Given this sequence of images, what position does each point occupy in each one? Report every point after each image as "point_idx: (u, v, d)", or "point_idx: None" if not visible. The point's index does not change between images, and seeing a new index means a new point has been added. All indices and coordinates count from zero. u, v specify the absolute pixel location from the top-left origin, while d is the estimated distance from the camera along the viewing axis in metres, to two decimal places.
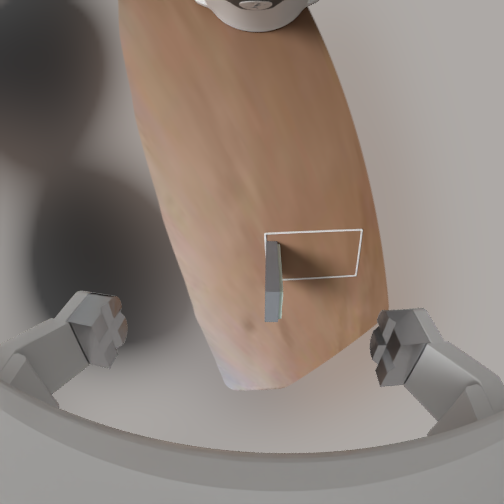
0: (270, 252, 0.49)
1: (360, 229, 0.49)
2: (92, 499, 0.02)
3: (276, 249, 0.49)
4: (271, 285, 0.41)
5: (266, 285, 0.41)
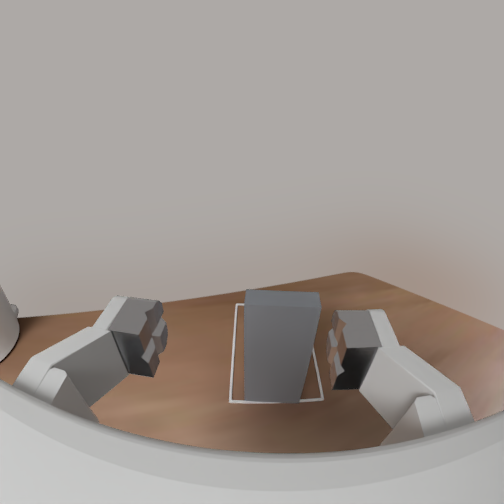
0: None
1: (236, 305, 0.44)
2: (92, 499, 0.02)
3: None
4: None
5: (244, 316, 0.23)
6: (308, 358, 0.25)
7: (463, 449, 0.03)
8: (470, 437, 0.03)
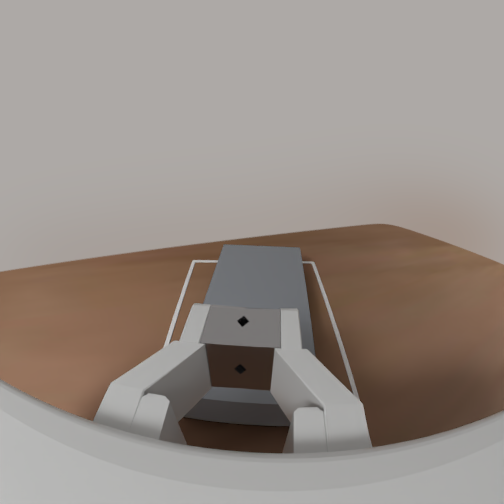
0: None
1: (192, 262, 0.24)
2: (92, 499, 0.02)
3: None
4: None
5: (221, 254, 0.22)
6: (304, 292, 0.17)
7: (463, 449, 0.03)
8: (470, 437, 0.03)
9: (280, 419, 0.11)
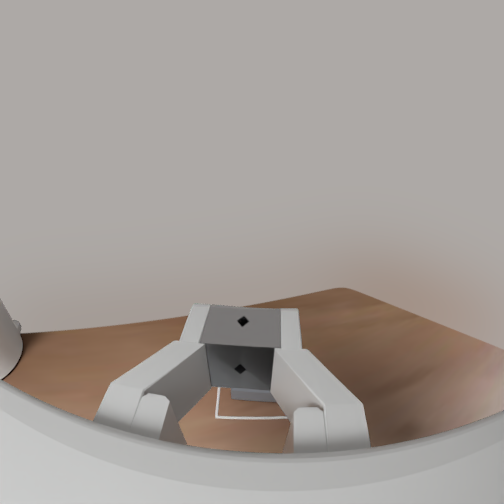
0: None
1: None
2: (92, 499, 0.02)
3: None
4: None
5: None
6: None
7: (463, 449, 0.03)
8: (470, 437, 0.03)
9: (267, 398, 0.32)
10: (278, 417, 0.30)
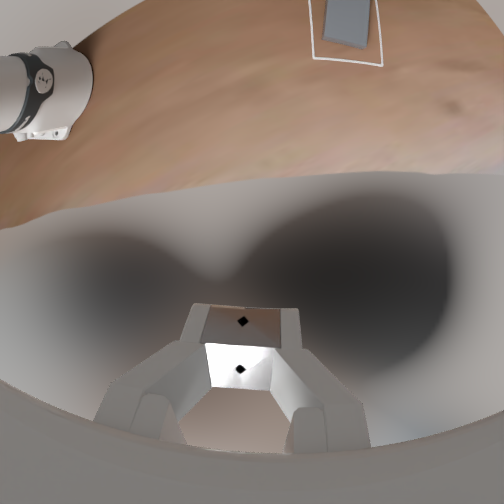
0: (325, 15, 0.28)
1: None
2: (92, 499, 0.02)
3: None
4: None
5: None
6: (368, 2, 0.25)
7: (463, 449, 0.03)
8: (470, 437, 0.03)
9: (353, 45, 0.30)
10: (363, 62, 0.32)
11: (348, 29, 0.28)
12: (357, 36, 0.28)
